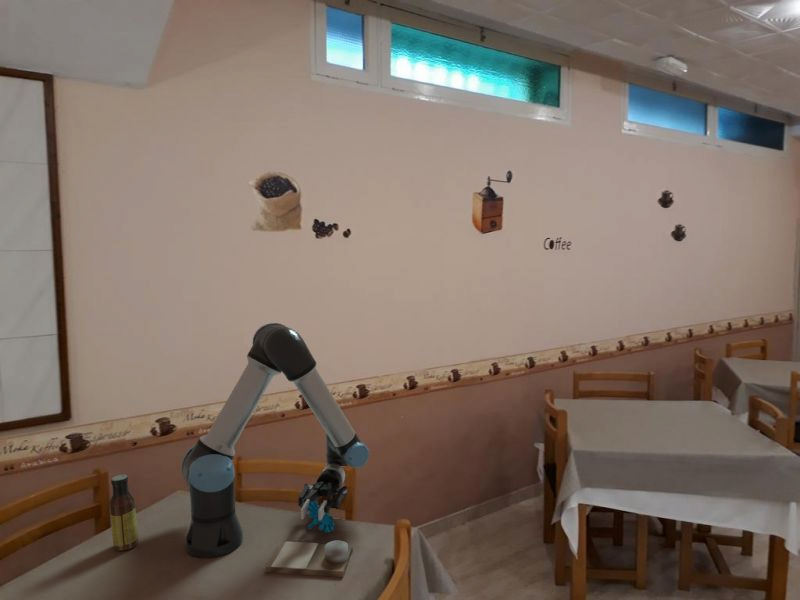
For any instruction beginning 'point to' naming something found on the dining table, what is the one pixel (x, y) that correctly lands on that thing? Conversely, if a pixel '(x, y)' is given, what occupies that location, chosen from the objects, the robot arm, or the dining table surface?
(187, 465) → the robot arm
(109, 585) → the dining table surface
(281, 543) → the wooden board
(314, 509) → the gear
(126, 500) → the sauce bottle
